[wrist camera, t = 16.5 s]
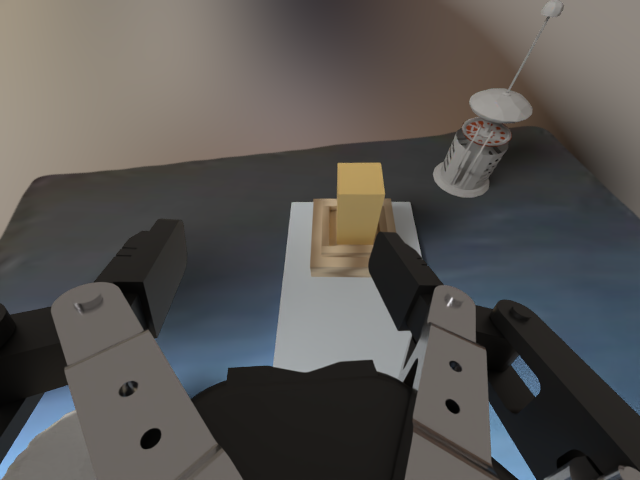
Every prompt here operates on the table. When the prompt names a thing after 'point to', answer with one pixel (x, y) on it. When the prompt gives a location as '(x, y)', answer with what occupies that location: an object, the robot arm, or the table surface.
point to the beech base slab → (341, 258)
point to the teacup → (55, 454)
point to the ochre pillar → (358, 202)
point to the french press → (486, 133)
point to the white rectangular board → (335, 307)
